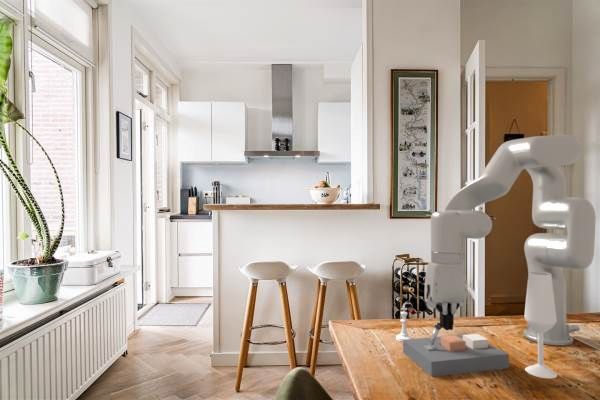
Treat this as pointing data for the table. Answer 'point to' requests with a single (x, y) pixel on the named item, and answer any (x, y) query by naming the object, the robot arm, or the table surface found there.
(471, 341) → the button white
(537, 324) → the champagne flute
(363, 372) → the table surface
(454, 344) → the button terracotta
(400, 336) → the chess piece
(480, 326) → the table surface
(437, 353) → the panel
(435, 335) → the toggle lever
